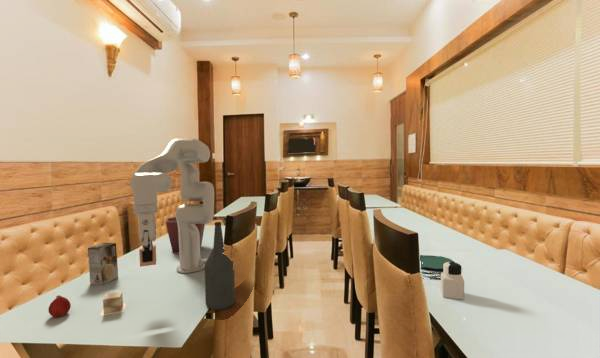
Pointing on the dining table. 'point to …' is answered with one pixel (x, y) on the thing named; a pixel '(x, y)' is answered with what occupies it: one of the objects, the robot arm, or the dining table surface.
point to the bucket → (174, 235)
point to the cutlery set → (433, 263)
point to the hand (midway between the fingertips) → (148, 258)
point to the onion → (59, 306)
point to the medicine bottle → (452, 281)
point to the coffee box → (102, 263)
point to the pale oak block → (112, 302)
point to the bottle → (219, 275)
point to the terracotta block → (153, 248)
